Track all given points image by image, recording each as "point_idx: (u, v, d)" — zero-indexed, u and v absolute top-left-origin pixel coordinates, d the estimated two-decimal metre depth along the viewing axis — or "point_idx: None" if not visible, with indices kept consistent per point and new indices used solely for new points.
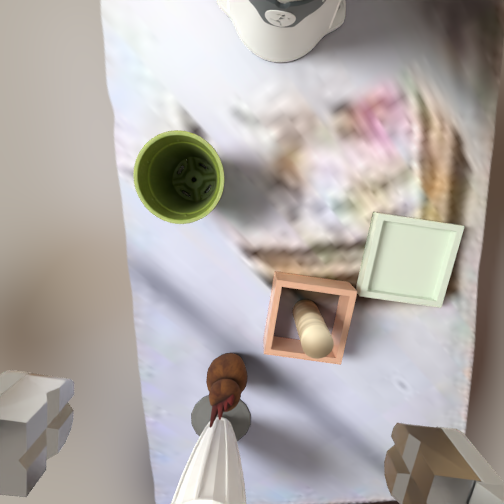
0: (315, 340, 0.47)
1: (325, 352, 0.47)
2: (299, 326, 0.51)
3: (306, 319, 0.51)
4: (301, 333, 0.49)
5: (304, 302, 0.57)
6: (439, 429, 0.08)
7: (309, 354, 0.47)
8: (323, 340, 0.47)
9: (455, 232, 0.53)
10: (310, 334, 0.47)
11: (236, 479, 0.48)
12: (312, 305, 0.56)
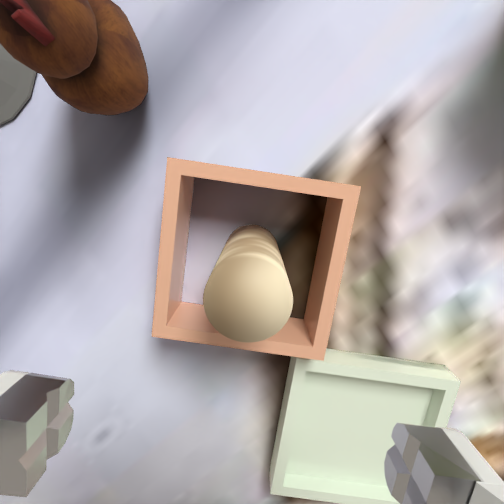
0: (259, 294, 0.17)
1: (222, 322, 0.17)
2: (263, 244, 0.20)
3: (281, 260, 0.20)
4: (263, 252, 0.18)
5: None
6: (439, 429, 0.08)
7: (215, 279, 0.16)
8: (258, 315, 0.17)
9: None
10: (279, 280, 0.16)
11: None
12: None
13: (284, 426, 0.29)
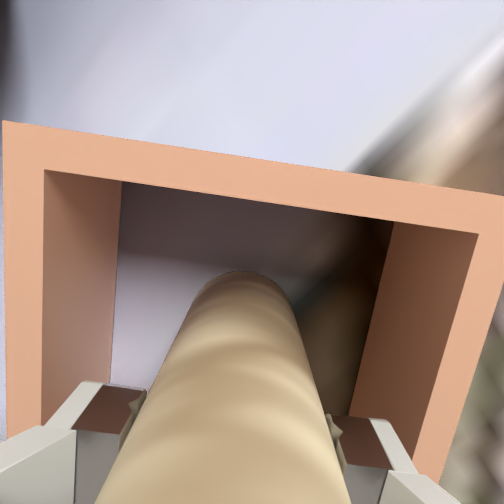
0: None
1: None
2: (270, 396, 0.06)
3: (330, 444, 0.06)
4: None
5: None
6: (367, 419, 0.08)
7: None
8: None
9: None
10: None
11: None
12: None
13: None
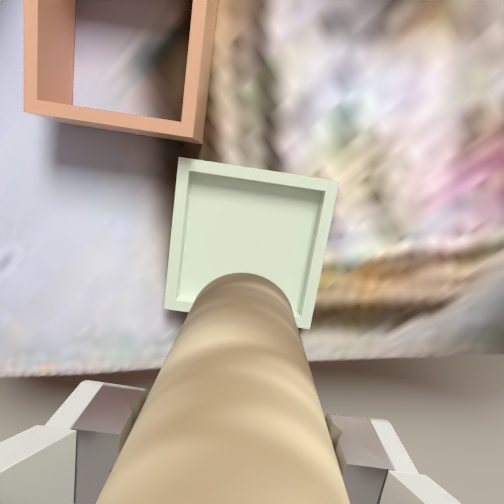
0: None
1: None
2: (270, 398, 0.06)
3: (330, 446, 0.06)
4: None
5: None
6: (367, 419, 0.08)
7: None
8: None
9: (298, 316, 0.32)
10: None
11: None
12: None
13: (172, 233, 0.30)
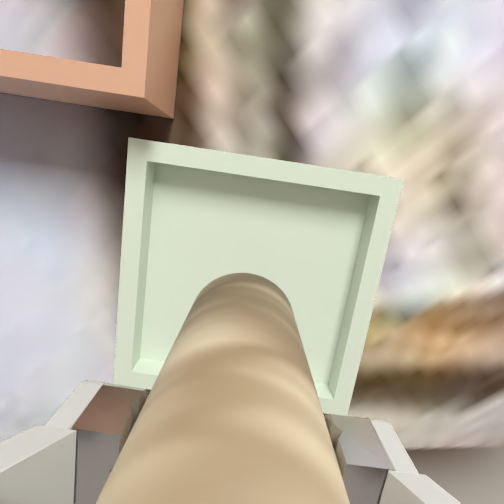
0: None
1: None
2: (270, 399, 0.06)
3: (330, 447, 0.06)
4: None
5: None
6: (367, 419, 0.08)
7: None
8: None
9: (329, 396, 0.20)
10: None
11: None
12: None
13: (122, 265, 0.18)
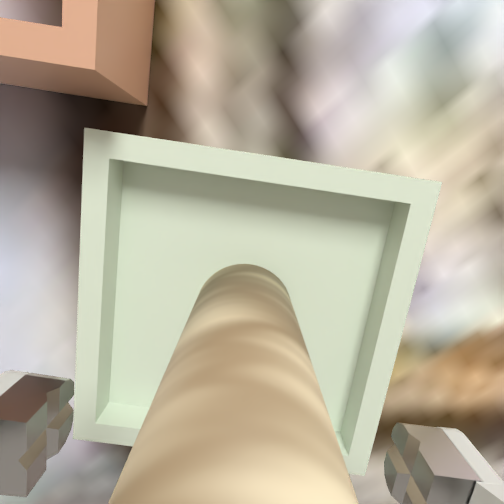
0: None
1: None
2: (273, 360, 0.08)
3: (322, 399, 0.08)
4: (281, 436, 0.05)
5: None
6: (439, 429, 0.08)
7: None
8: None
9: (342, 451, 0.16)
10: None
11: None
12: None
13: (80, 292, 0.14)
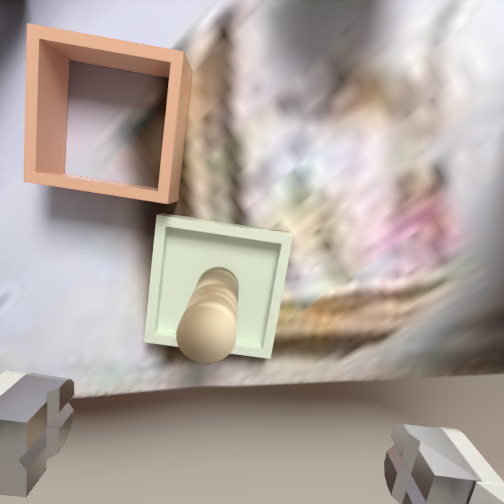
0: (213, 331, 0.25)
1: (189, 350, 0.25)
2: (220, 292, 0.28)
3: (233, 303, 0.29)
4: (218, 301, 0.26)
5: (238, 287, 0.35)
6: (440, 429, 0.08)
7: (184, 322, 0.25)
8: (213, 345, 0.25)
9: (260, 348, 0.37)
10: (227, 323, 0.25)
11: None
12: None
13: (151, 278, 0.35)
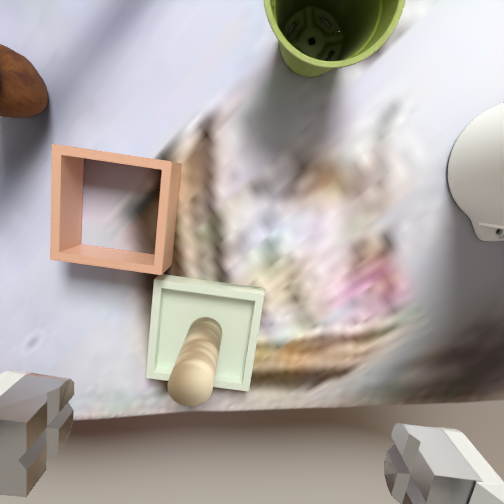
0: (195, 383, 0.33)
1: (178, 397, 0.33)
2: (202, 347, 0.37)
3: (213, 355, 0.37)
4: (199, 358, 0.34)
5: (221, 334, 0.43)
6: (440, 429, 0.08)
7: (173, 376, 0.33)
8: (195, 393, 0.33)
9: (240, 382, 0.45)
10: (205, 376, 0.33)
11: None
12: None
13: (150, 327, 0.43)
